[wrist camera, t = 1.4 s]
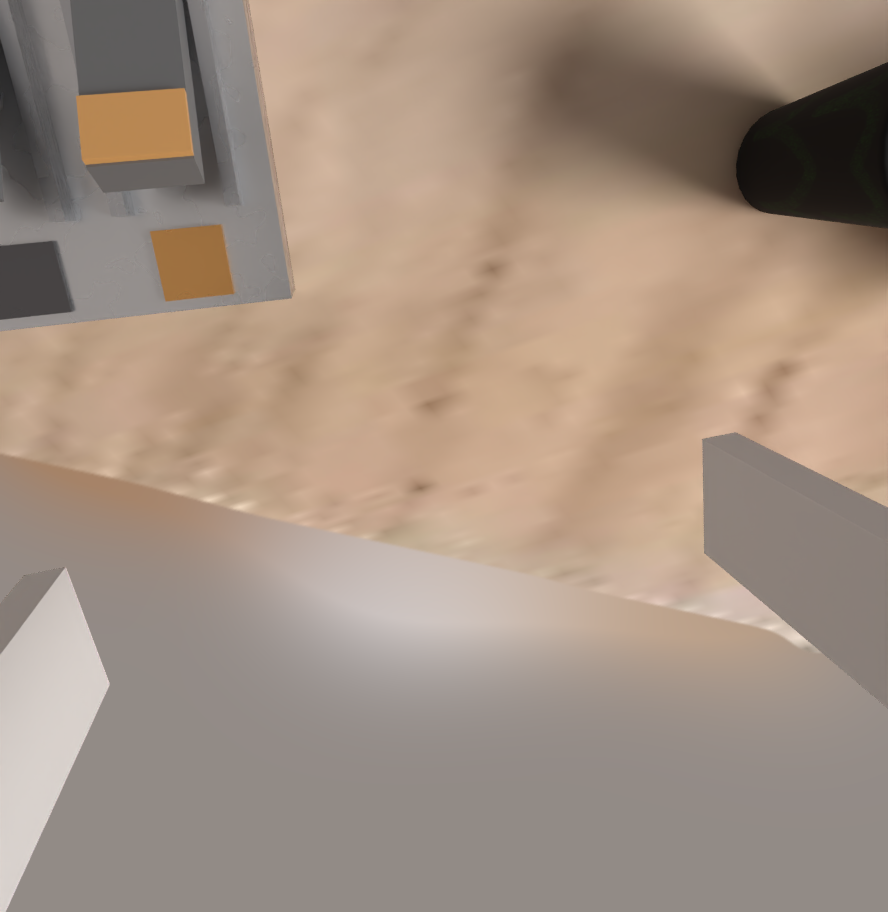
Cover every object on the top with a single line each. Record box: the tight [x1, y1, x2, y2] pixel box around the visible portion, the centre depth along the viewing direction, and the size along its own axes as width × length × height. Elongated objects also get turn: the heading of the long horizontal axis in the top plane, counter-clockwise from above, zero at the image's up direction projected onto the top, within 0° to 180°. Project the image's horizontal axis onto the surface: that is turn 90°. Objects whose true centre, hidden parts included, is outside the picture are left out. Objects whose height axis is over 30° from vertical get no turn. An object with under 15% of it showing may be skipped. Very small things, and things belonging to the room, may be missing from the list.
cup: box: [736, 62, 888, 228], centre depth 33 cm, size 8×8×12 cm
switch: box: [70, 0, 205, 193], centre depth 25 cm, size 9×4×2 cm, turn 5°
